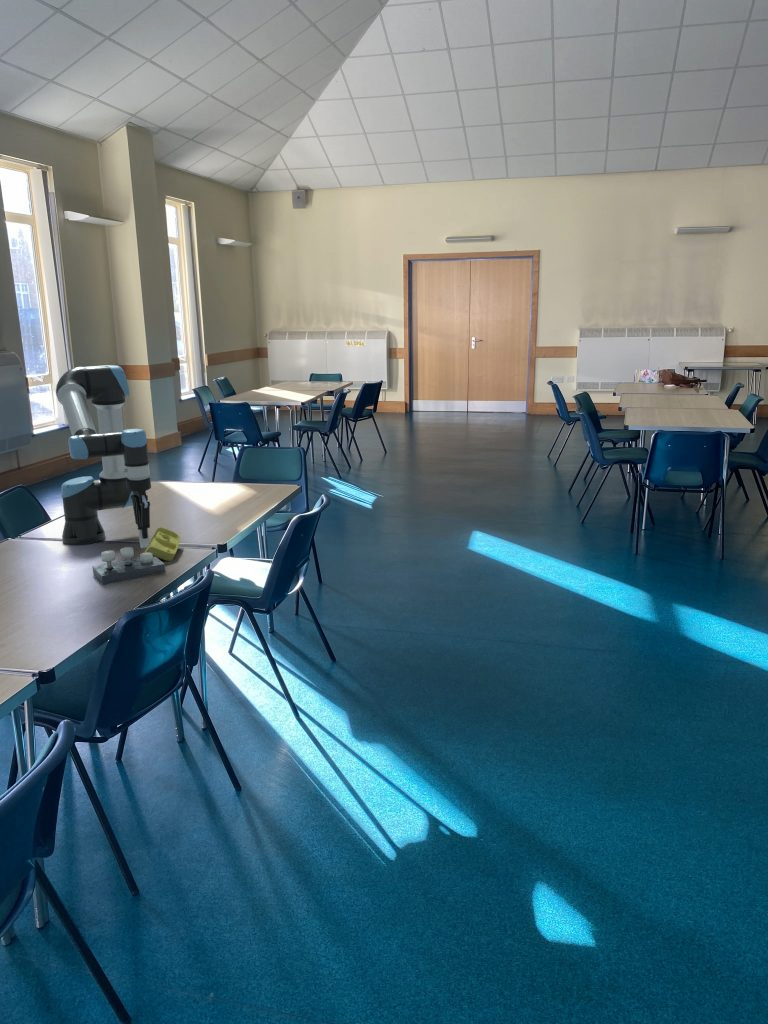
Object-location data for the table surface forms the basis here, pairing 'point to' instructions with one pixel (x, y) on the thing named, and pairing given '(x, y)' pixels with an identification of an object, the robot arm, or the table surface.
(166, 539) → the plastic component
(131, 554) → the knob mid
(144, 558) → the knob
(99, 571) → the mount
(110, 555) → the knob
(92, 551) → the table surface
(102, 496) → the robot arm
